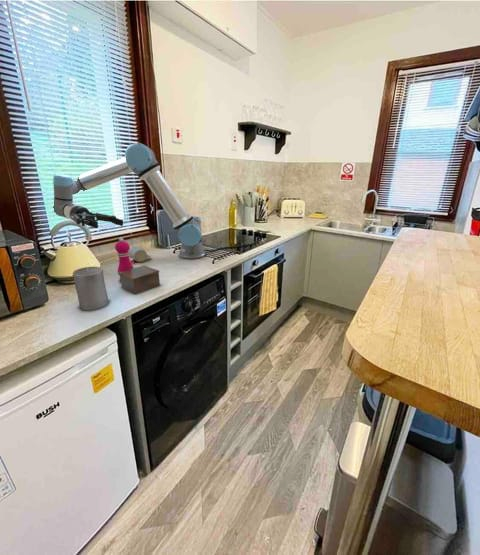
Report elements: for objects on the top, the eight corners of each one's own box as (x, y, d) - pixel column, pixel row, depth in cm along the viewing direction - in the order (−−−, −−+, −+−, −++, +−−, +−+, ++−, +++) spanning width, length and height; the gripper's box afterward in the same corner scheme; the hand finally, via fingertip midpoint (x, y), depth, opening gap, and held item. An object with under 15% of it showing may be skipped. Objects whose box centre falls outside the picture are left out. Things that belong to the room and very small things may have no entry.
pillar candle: (87, 299, 108) (79, 263, 102) (112, 298, 108) (106, 262, 103) (75, 311, 99) (65, 272, 93) (102, 310, 99) (95, 271, 94)
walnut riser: (146, 279, 128) (144, 265, 125) (160, 285, 121) (159, 270, 119) (121, 287, 119) (118, 272, 116) (135, 294, 112) (133, 278, 110)
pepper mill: (115, 282, 124) (108, 239, 117) (126, 276, 131) (120, 235, 123) (128, 284, 122) (121, 240, 115) (139, 278, 128) (133, 236, 121)
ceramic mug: (135, 263, 148) (134, 250, 145) (129, 260, 154) (127, 247, 151) (153, 260, 155) (152, 247, 152) (147, 257, 161) (146, 244, 158)
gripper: (100, 219, 141) (131, 229, 134) (51, 222, 119) (84, 235, 112) (100, 205, 139) (132, 214, 132) (50, 205, 117) (84, 216, 110)
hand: (110, 224), depth 122 cm, fingers open, 13 cm apart
